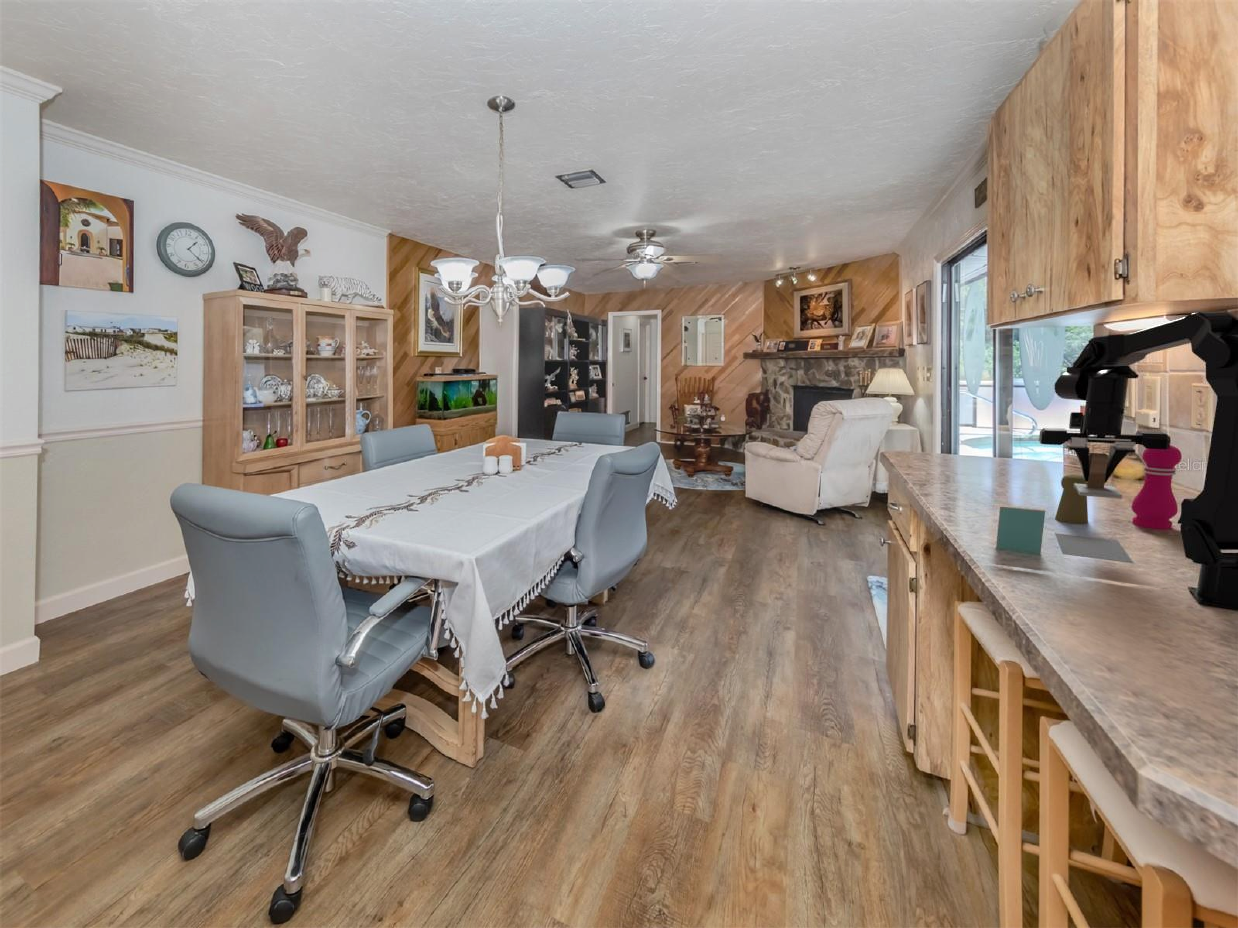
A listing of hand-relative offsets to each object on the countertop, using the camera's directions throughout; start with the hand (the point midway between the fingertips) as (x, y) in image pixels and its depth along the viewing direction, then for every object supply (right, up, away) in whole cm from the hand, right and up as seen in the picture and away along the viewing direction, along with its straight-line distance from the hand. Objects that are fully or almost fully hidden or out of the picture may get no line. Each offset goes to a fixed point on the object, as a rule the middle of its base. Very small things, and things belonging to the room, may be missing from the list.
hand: (1095, 481), depth 108 cm
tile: (-16, -14, -1) cm, 21 cm away
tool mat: (-1, -13, 0) cm, 13 cm away
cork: (+10, -10, +17) cm, 22 cm away
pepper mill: (+23, -11, +12) cm, 28 cm away
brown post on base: (-2, -2, -2) cm, 3 cm away
